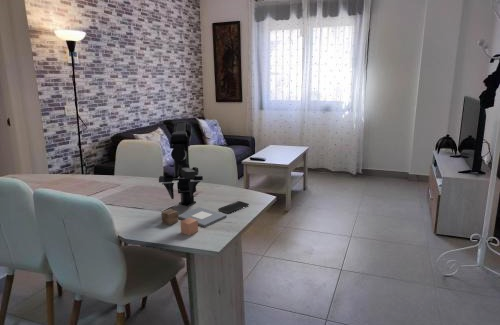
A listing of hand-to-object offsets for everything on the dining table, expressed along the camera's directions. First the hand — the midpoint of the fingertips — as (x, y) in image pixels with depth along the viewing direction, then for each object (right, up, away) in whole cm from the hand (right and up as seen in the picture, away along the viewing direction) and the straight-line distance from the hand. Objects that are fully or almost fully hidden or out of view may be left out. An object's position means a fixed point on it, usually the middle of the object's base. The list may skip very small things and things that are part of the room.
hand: (182, 198), depth 152 cm
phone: (+21, -8, +22) cm, 32 cm away
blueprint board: (+7, -10, +11) cm, 16 cm away
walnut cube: (-7, -11, +6) cm, 15 cm away
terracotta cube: (+4, -14, -4) cm, 15 cm away
